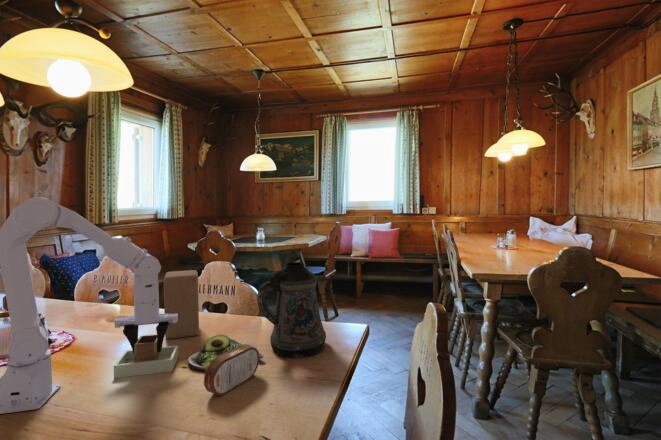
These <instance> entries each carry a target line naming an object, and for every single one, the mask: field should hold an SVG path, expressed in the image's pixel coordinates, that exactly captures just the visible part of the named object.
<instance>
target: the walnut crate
mask: <svg viewBox="0 0 661 440" xmlns="http://www.w3.org/2000/svg"><path fill="white" fill-rule="evenodd" d="M160 353H161V352H158V351H157V334H147V335H140V336H138V340H137V341H136V343H135V344H134V363H136V362H145V361H155V360H157V359H158V357H159V355H160Z"/></svg>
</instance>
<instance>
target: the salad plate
mask: <svg viewBox="0 0 661 440" xmlns="http://www.w3.org/2000/svg"><path fill="white" fill-rule="evenodd" d="M244 344H245V343H241V342H239V341H237V340H236V339H235V340H234V339H233V338H230V337H229V336H228V335H227V334H226V335H225V334H217V335H214V336H211V337H210V338H208V339H206V340H205V341H204V343H203V345H202V346H203V348H202V349H200V350H199V351H196V353H193V354H192V355H191V356H189V357H188V358H187V365H188V366H189V367H190V368H192V369H194V370H197V371H204V372H206V370H207V368H208V366H209V365H210V363H211V362H212V361H213V360H214V359H215V358H216V357H217V356H219V355H221V354H224V353H226V352H228V351H230V350H232V349H235V348H237V347H239V346H241V345H244ZM248 345H250V346H252V347H254V348H256V349H257V350H258V352H260V351H259V348H258V346H256V345H255V344H250V343H249V344H248ZM263 358H264V355H263V354H261V353H259V359H263Z"/></svg>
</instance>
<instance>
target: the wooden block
mask: <svg viewBox="0 0 661 440" xmlns="http://www.w3.org/2000/svg"><path fill="white" fill-rule="evenodd" d="M198 273H199V272H198V271H197V270H195V269H193V270H192V269H189V270H177V271H175V270H174V271H168V272H166V273H165V275H164V278H163V303H164V304H163V305H164V313H163V314H178V321H177V323H170V324H169V326H168V328H167V331H166V333H165V336H164V338H165V339H166V340H171V339H173V340H174V339H179V338H180V339H181V338H187V337H195V336H198V335H199V333H200V313H199V312H200V311H199V274H198Z"/></svg>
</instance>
